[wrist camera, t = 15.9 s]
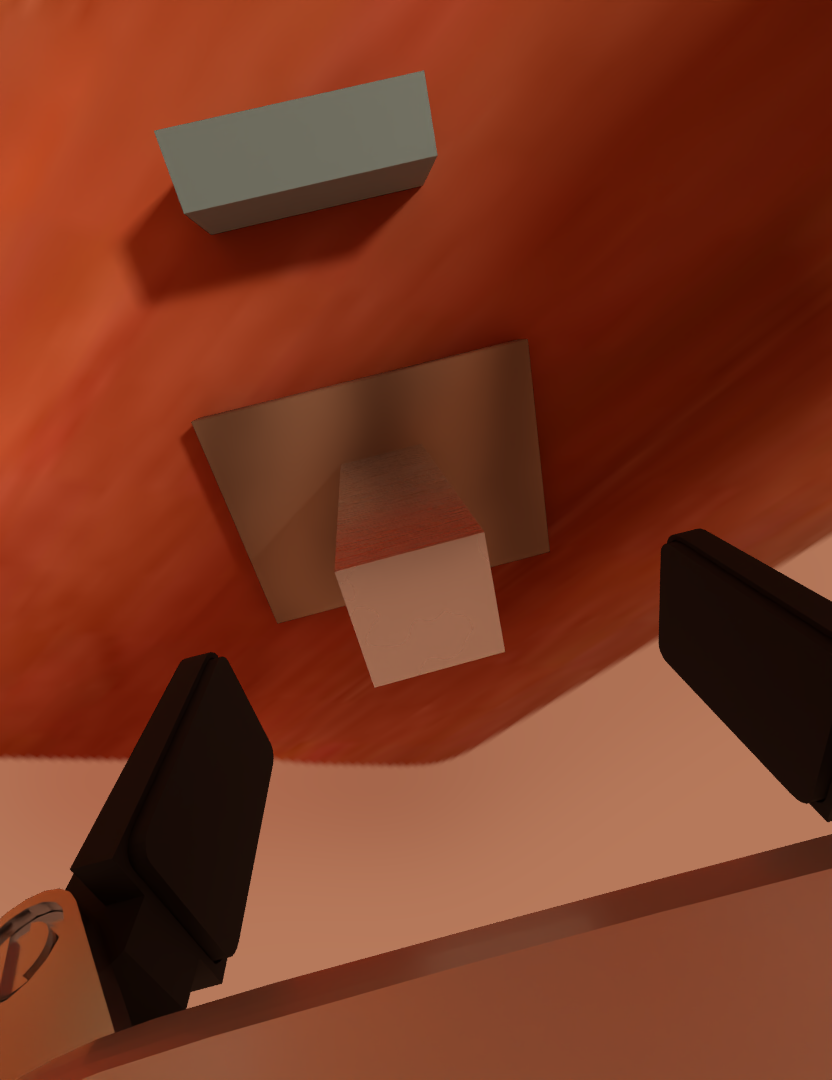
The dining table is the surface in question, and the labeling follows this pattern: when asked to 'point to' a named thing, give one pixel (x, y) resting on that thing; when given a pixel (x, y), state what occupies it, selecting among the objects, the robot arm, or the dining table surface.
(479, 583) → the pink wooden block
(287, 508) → the walnut board
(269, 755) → the robot arm
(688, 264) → the dining table surface
